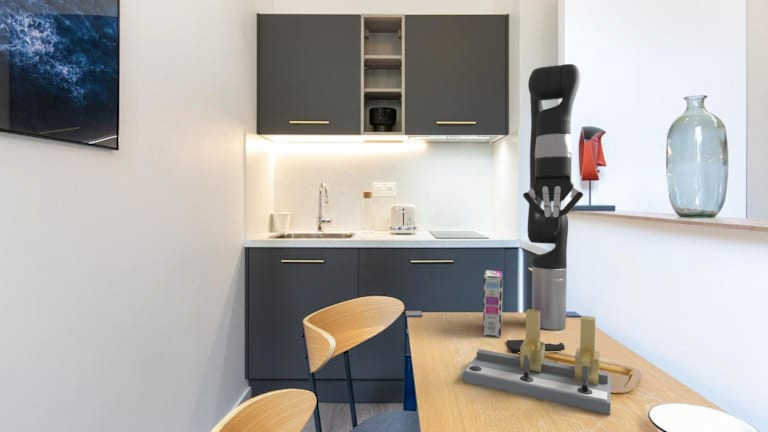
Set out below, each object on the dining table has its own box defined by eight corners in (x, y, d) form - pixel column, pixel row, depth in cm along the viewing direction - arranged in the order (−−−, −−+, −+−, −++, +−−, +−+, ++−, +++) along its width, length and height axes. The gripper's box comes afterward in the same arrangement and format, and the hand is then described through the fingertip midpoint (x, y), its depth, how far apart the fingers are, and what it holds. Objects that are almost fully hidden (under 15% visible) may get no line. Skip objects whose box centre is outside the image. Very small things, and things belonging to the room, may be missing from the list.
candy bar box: (502, 338, 108) (502, 277, 107) (482, 336, 109) (483, 276, 108) (501, 325, 118) (502, 270, 118) (484, 324, 120) (484, 269, 119)
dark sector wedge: (570, 358, 95) (570, 351, 95) (510, 355, 97) (510, 348, 97) (560, 346, 103) (561, 339, 103) (505, 343, 105) (505, 337, 105)
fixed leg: (576, 371, 82) (577, 313, 82) (599, 375, 80) (600, 316, 80) (572, 391, 73) (573, 326, 73) (597, 396, 71) (598, 330, 71)
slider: (524, 360, 87) (525, 307, 86) (544, 363, 85) (545, 309, 84) (514, 377, 78) (515, 318, 78) (536, 382, 76) (537, 321, 76)
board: (479, 361, 92) (479, 345, 92) (610, 386, 79) (610, 369, 79) (462, 381, 82) (462, 364, 82) (610, 414, 69) (610, 394, 69)
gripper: (587, 156, 91) (585, 233, 91) (525, 159, 97) (524, 231, 98) (585, 153, 84) (583, 236, 85) (519, 156, 91) (518, 234, 91)
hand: (552, 233), depth 91 cm, fingers closed
